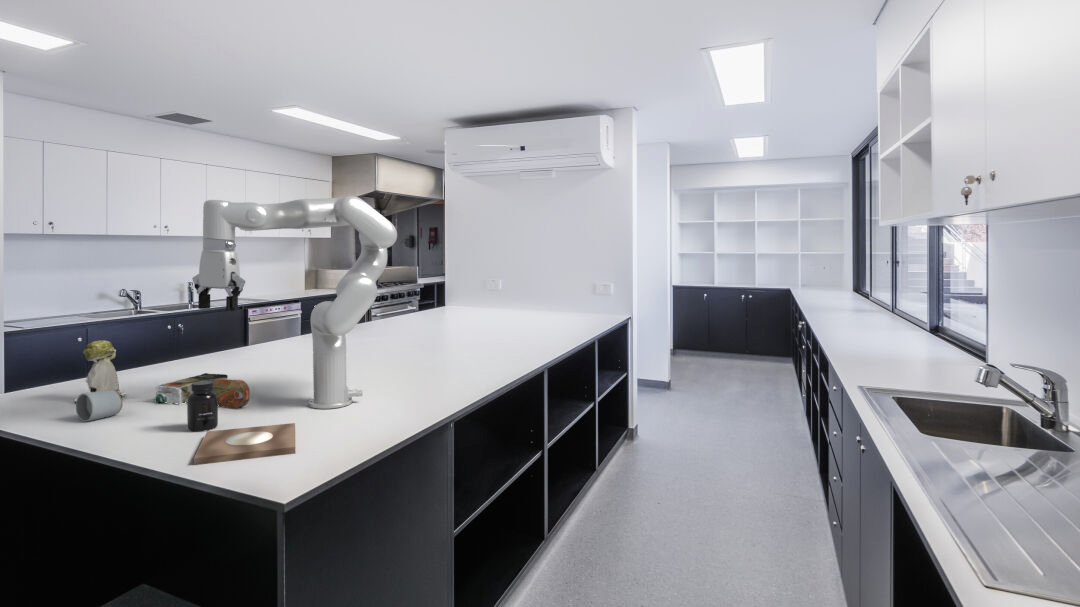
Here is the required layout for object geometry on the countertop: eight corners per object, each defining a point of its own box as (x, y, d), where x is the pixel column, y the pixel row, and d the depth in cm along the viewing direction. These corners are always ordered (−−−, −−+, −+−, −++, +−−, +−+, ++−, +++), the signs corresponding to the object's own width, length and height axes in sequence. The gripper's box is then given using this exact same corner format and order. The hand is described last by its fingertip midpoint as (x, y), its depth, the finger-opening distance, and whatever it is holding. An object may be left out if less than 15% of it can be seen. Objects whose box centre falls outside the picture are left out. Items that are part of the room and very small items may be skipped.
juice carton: (229, 391, 186) (229, 374, 186) (179, 406, 167) (178, 387, 166) (204, 389, 188) (203, 372, 188) (152, 404, 169) (151, 385, 168)
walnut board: (295, 428, 146) (295, 422, 146) (295, 453, 128) (295, 446, 128) (207, 437, 138) (207, 430, 138) (194, 464, 120) (193, 457, 120)
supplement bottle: (204, 433, 142) (202, 386, 141) (181, 431, 143) (179, 384, 142) (224, 425, 148) (223, 380, 147) (202, 423, 150) (201, 379, 149)
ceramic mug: (125, 415, 156) (124, 388, 155) (92, 423, 148) (91, 395, 148) (100, 411, 160) (99, 385, 159) (68, 418, 152) (66, 391, 151)
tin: (207, 404, 169) (206, 377, 168) (216, 402, 172) (215, 375, 171) (243, 410, 163) (242, 382, 162) (252, 407, 166) (251, 380, 165)
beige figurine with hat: (132, 393, 181) (130, 337, 179) (117, 403, 168) (115, 343, 167) (88, 395, 177) (85, 338, 175) (69, 406, 164) (66, 344, 163)
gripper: (255, 248, 151) (254, 311, 152) (206, 246, 157) (205, 307, 157) (232, 246, 144) (231, 312, 145) (182, 244, 149) (181, 308, 150)
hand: (218, 309), depth 151 cm, fingers open, 9 cm apart
